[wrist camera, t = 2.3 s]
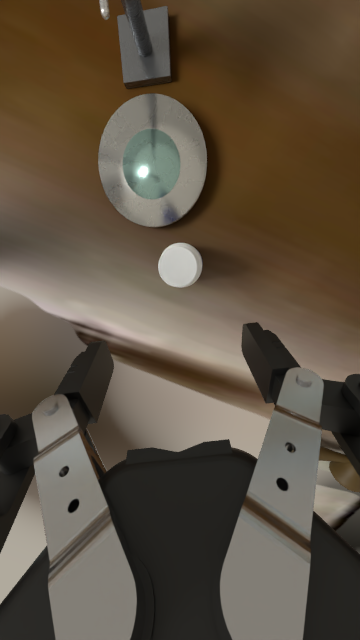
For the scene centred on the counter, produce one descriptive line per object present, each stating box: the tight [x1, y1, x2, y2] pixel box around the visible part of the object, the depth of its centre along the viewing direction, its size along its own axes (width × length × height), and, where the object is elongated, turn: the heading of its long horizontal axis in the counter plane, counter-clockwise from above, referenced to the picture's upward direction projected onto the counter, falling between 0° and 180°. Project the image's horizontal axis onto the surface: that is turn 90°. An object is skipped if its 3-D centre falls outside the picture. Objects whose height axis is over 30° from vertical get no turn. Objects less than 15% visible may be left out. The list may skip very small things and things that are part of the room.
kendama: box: [319, 446, 360, 492], centre depth 38 cm, size 6×10×20 cm
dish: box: [98, 94, 207, 227], centre depth 28 cm, size 15×15×2 cm
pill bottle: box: [158, 243, 203, 288], centre depth 28 cm, size 6×6×10 cm
